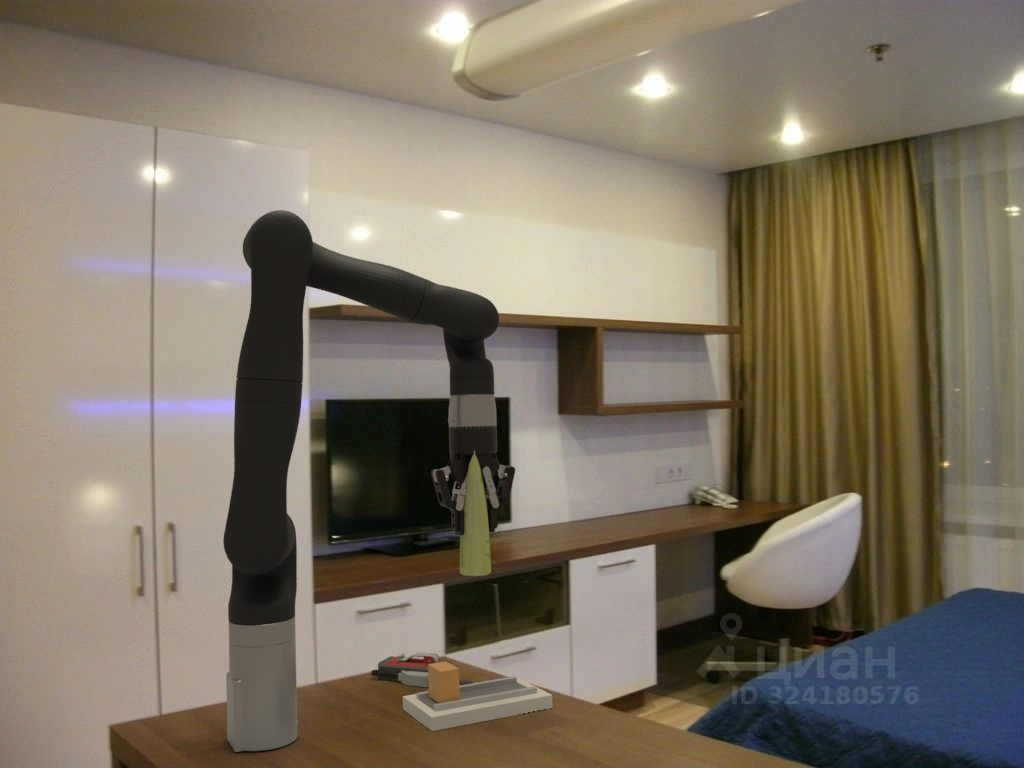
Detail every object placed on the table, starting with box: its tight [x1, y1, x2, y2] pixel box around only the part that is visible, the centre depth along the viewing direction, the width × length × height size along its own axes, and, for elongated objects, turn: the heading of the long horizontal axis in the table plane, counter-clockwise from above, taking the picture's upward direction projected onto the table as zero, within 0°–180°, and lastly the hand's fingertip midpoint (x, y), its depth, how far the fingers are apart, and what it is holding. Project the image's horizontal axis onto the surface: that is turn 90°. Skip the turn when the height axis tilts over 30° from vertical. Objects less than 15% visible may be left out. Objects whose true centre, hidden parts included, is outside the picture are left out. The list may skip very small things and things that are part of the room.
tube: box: [459, 451, 492, 577], centre depth 144 cm, size 6×5×20 cm
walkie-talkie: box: [370, 652, 474, 688], centre depth 160 cm, size 9×4×20 cm
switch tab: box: [428, 660, 460, 703], centre depth 140 cm, size 3×5×5 cm, turn 27°
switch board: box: [402, 676, 553, 732], centre depth 143 cm, size 20×12×3 cm, turn 117°
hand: (475, 532), depth 144 cm, fingers closed on tube, 4 cm apart
